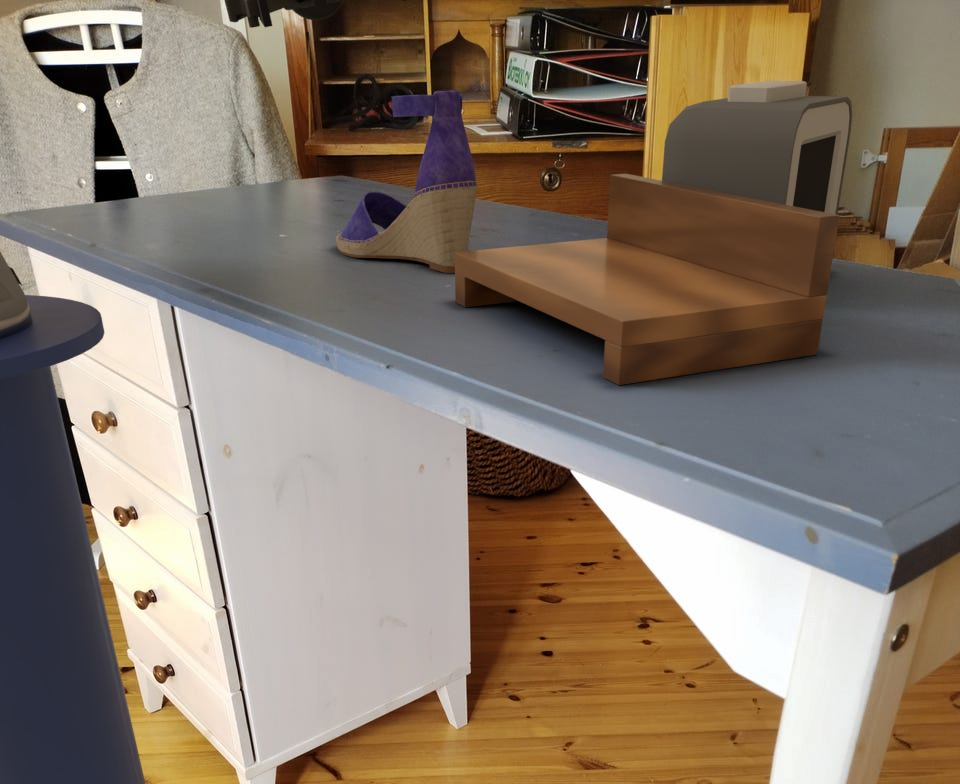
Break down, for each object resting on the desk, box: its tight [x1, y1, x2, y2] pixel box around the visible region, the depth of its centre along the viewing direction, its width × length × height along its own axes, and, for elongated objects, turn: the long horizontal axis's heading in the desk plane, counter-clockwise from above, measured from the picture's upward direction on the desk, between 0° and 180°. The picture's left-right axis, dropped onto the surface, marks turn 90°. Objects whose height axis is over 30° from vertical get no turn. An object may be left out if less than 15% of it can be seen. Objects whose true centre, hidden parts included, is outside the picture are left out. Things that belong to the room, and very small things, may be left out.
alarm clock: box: [661, 80, 853, 215], centre depth 87 cm, size 16×11×16 cm
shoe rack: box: [454, 173, 841, 386], centre depth 75 cm, size 16×26×9 cm, turn 25°
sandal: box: [335, 89, 478, 274], centre depth 97 cm, size 8×20×15 cm, turn 32°
